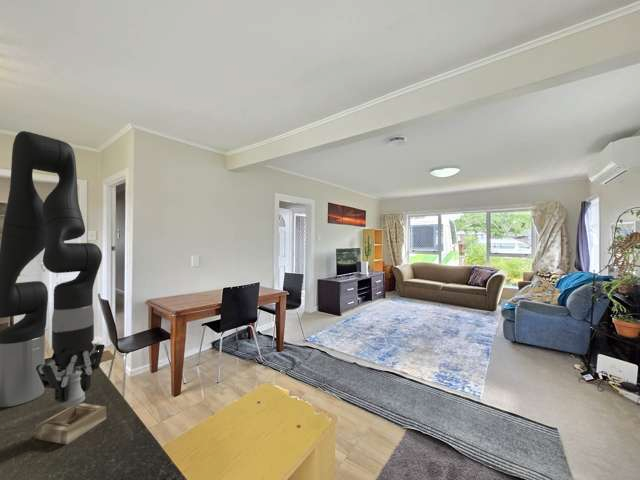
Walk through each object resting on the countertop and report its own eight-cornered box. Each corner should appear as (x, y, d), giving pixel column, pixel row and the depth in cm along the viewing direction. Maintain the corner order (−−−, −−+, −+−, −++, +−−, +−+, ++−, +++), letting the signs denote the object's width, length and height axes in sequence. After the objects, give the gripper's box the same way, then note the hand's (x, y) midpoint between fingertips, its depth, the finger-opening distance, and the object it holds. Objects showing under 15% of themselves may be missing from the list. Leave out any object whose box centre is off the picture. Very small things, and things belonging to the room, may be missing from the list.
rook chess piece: (64, 411, 62) (64, 376, 62) (57, 404, 65) (58, 371, 65) (88, 401, 66) (88, 368, 66) (81, 395, 68) (81, 364, 68)
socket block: (35, 438, 62) (35, 425, 62) (77, 413, 71) (77, 402, 71) (66, 444, 60) (67, 430, 60) (106, 418, 69) (106, 406, 69)
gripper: (91, 316, 73) (91, 379, 73) (24, 333, 59) (24, 412, 59) (114, 317, 72) (114, 382, 72) (51, 336, 58) (51, 416, 58)
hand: (73, 395), depth 65 cm, fingers closed on rook chess piece, 4 cm apart
